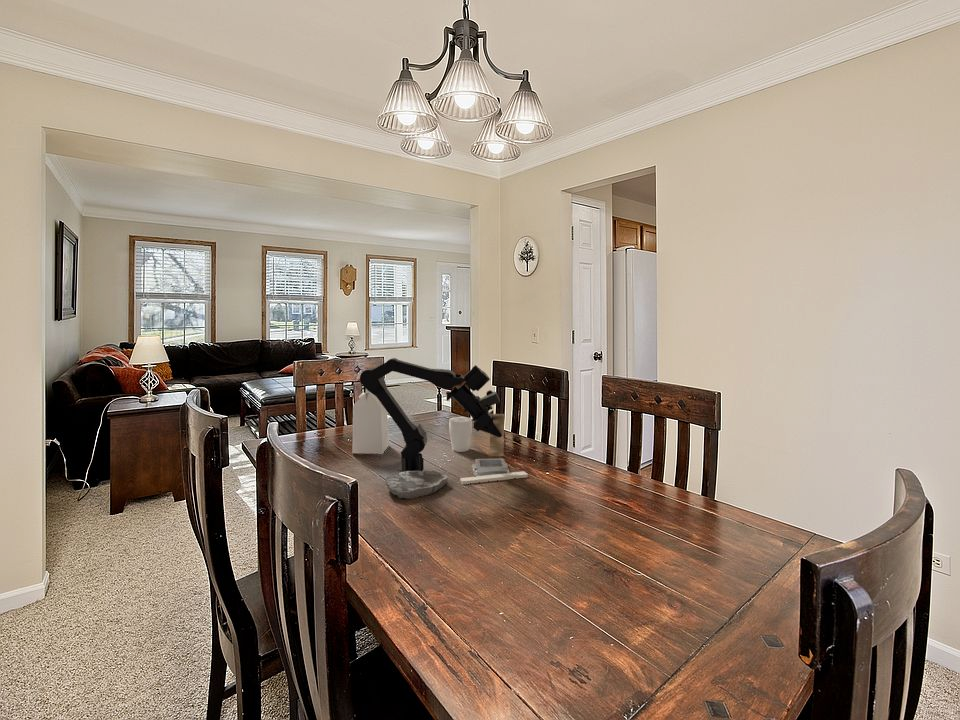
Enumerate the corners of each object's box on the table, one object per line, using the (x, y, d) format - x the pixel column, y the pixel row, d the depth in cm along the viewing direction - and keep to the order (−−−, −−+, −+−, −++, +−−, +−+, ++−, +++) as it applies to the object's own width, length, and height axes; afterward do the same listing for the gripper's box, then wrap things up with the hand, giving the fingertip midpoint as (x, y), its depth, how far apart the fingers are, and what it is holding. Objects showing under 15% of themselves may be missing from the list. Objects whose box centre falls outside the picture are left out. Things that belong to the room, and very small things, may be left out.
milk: (382, 455, 184) (381, 386, 181) (352, 454, 184) (350, 386, 182) (389, 446, 196) (388, 381, 193) (360, 445, 196) (359, 381, 194)
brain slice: (417, 475, 163) (417, 466, 162) (455, 486, 152) (455, 477, 152) (370, 492, 147) (369, 482, 147) (408, 506, 137) (408, 495, 136)
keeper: (474, 476, 160) (474, 468, 160) (472, 465, 171) (472, 458, 171) (510, 475, 161) (510, 467, 161) (506, 465, 172) (506, 457, 172)
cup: (462, 454, 185) (462, 423, 183) (444, 450, 190) (444, 419, 189) (476, 448, 192) (476, 418, 191) (459, 445, 197) (459, 415, 196)
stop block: (489, 455, 160) (490, 416, 158) (489, 451, 164) (490, 413, 163) (503, 456, 160) (504, 417, 158) (503, 452, 164) (504, 414, 163)
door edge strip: (462, 484, 153) (462, 481, 153) (459, 481, 156) (459, 478, 156) (527, 477, 159) (527, 474, 159) (524, 474, 162) (524, 471, 162)
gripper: (484, 388, 150) (520, 424, 151) (486, 379, 169) (517, 412, 170) (459, 413, 152) (494, 448, 152) (463, 401, 170) (494, 433, 171)
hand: (501, 434), depth 161 cm, fingers closed on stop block, 4 cm apart
